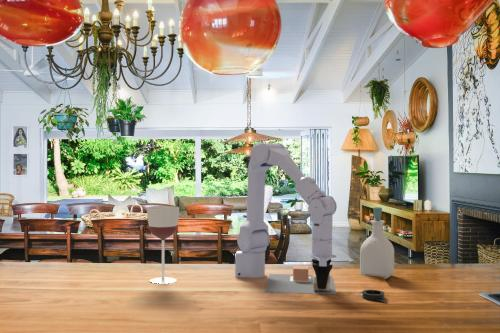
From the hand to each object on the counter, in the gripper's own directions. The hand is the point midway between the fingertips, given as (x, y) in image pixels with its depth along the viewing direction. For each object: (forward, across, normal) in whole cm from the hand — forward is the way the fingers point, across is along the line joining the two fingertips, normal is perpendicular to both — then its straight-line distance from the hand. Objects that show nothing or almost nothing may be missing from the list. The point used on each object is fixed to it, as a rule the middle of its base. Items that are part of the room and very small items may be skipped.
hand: (321, 286), depth 144 cm
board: (+2, +7, +6) cm, 9 cm away
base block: (+1, +12, +6) cm, 13 cm away
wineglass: (+3, +10, +49) cm, 50 cm away
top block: (0, 0, 0) cm, 0 cm away
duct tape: (+3, -6, -14) cm, 15 cm away
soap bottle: (+2, +24, -19) cm, 31 cm away
